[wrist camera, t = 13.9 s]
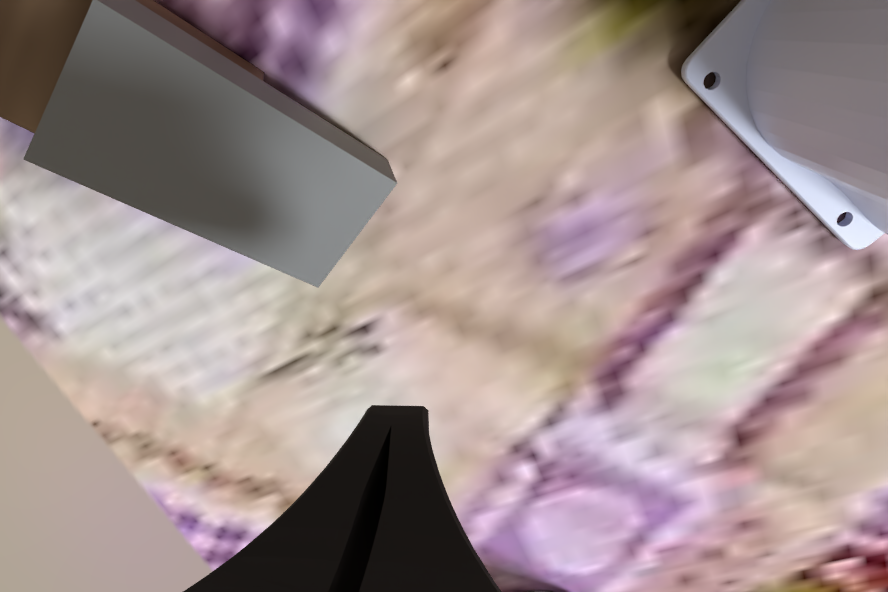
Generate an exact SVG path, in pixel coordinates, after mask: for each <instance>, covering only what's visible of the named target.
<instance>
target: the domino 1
mask: <svg viewBox="0 0 888 592" xmlns="http://www.w3.org/2000/svg"><path fill="white" fill-rule="evenodd" d="M92 1H93V0H0V117H2V118H4V119H6V120H8V121H10V122H12V123H14V124H16V125H18V126H20V127H23V128H25V129H27V130H29V131H31V132H33V133H35V132H36V129H37V127H38V125H39V123H40V120H41V118H42V116H43V113H44V111H45V109H46V106H47V104H48V102H49V100H50V97H51V95H52V93H53V90H54V88H55V86H56V83H57V81H58V79H59V77H60V74H61V72H62V70H63V67H64V65H65V63H66V60H67V58H68V56H69V54H70V51H71V49H72V47H73V44H74V42H75V40H76V38H77V35H78V33H79V31H80V28H81V26H82V24H83V21H84V19H85V17H86V15H87V12H88V10H89V8H90V5H91V3H92ZM136 1H137V2H139V3H140V4H142V5H143V6H145V7H147V8H148V9H150V10H151V11H153V12H155V13H156V14H158V15H159V16H161V17H162V18H164V19H166V20H167V21H169V22H170V23H172V24H174V25H175V26H177V27H178V28H180V29H181V30H183V31H185V32H186V33H188V34H189V35H191V36H193V37H194V38H196V39H197V40H199V41H200V42H202V43H204V44H205V45H207V46H208V47H210V48H212V49H213V50H215V51H216V52H218V53H219V54H221V55H223V56H224V57H226V58H227V59H229V60H231V61H232V62H234V63H235V64H237V65H238V66H240V67H242V68H243V69H245V70H246V71H248V72H250V73H251V74H253V75H254V76H256V77H257V78H259V79H261V80H262V81H263V78H264V72H263V71H261V70H260V69H258V68H257V67H255V66H253V65H252V64H250V63H249V62H247V61H246V60H244V59H243V58H241V57H240V56H238V55H236V54H235V53H233V52H232V51H230V50H229V49H227V48H226V47H224V46H223V45H221V44H220V43H218V42H216V41H215V40H213V39H212V38H210V37H209V36H207V35H206V34H204V33H203V32H201V31H199V30H198V29H196V28H195V27H193V26H192V25H190V24H189V23H187V22H186V21H184V20H183V19H181V18H179V17H178V16H176V15H175V14H173V13H172V12H170V11H169V10H167V9H166V8H164V7H162V6H161V5H159V4H158V3H156V2H155V1H153V0H136Z"/></svg>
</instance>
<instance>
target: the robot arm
mask: <svg viewBox="0 0 888 592" xmlns="http://www.w3.org/2000/svg"><path fill="white" fill-rule="evenodd" d="M710 72H713V73H714V74H715V76H716V80H715V83H714V84H713V86H711V87H710V88H705V87H704V85H703V82H704V78H705V77H706V75H707V74H709V73H710ZM681 74H682V78H683V80H684V82H685V83H686V84H687V85H688V86H689V87H690V88H691V89H692V90H693V91H694V92H695V93H696V94H697V95H698V96H699V97H700V98H701V99H702V100H703V101H704V102H705V103H706V104H707V105H708V106H709V107H710V108H711V109H712V110H713V111H714V112H715V114H716V115H717V116H718V117H719V118H720V119H721V120H722V121H723V122H724V123H725V124H726V125H727V126H728V127H729V128H730V129H731V130H732V131H733V132H734V133H735V134H736V135H737V136H738V137H739V138H740V139H741V140H742V141H743V142H744V143H745V144H746V145H747V146H748V147H749V148H750V149H751V150H752V151H753V152H754V153H755V154H756V155H757V156H758V157H759V158H760V159H761V161H762V162H763V163H764V164H765V165H766V166H767V167H768V168H769V169H770V170H771V171H772V172H773V173H774V174H775V175H776V176H777V177H778V178H779V179H780V180H781V181H782V182H783V183H784V184H785V185H786V186H787V187H788V188H789V189H790V190H791V191H792V192H793V193H794V194H795V195H796V196H797V197H798V198H799V199H800V200H801V201H802V202H803V203H804V204H805V205H806V206H807V207H808V209H809V210H810V211H811V212H812V213H813V214H814V215H815V216H816V217H817V218H818V219H819V220H820V221H821V222H822V223H823V224H824V225H825V226H826V227H827V228H828V229H829V230H830V231H831V232H832V233H833V234H834V235H835V236H836V237H837V238H838V239H839V240H840V241H841V242H842V243H843V244H844V245H846V246H848V247H849V248H851V249H854V250H859V249H863V248H865V247H867V246H869V245H870V244H871V243H873V242H874V241H875V240H876V239H878V238H879V237H880V236H882V235H883V234H884V233H886V234H888V0H741V1H740V2H739V3H738V4H737V6H736V7H735V8H734V9H733V10H732V11H731V12H730V13H729V14H728V15H727V16H726V17H725V18H724V19H723V20H722V21H721V23H720V24H719V25H718V26H717V27H716V28H715V29H714V30H713V31H712V32H711V33H710V34H709V35H708V36H707V37H706V38H705V40H704V41H703V42H702V43H701V44H700V45H699V46H698V47H697V48H696V49H695V50H694V51H693V52H692V53H691V54H690V55H689V57H688V58H687V59H686V60H685V62H684V63H683V66H682V69H681ZM844 212H846V216H845V218H844V219H843V220H842V221H841V222H839V223H837V218H838V217H839V215H840V214H842V213H844ZM184 592H501V590H500V589H499V588H498V586H497V585H496V583H495V582H494V580H493V579H492V577H491V576H490V574H489V572H488V571H487V569H486V568H485V566H484V564H483V563H482V561H481V560H480V558H479V556H478V555H477V553H476V552H475V550H474V548H473V546H472V545H471V543H470V541H469V539H468V537H467V535H466V534H465V532H464V530H463V528H462V526H461V524H460V522H459V520H458V518H457V516H456V513H455V511H454V509H453V507H452V504H451V502H450V500H449V497H448V495H447V492H446V490H445V487H444V485H443V482H442V479H441V476H440V474H439V471H438V467H437V464H436V461H435V457H434V454H433V450H432V446H431V442H430V437H429V420H428V410H427V409H426V408H425V407H424V406H379V405H372V406H371V407H370V408H368V409H367V411H366V413H365V414H364V416H363V417H362V419H361V420H360V422H359V423H358V425H357V426H356V428H355V429H354V431H353V432H352V434H351V435H350V436H349V438H348V439H347V441H346V442H345V443H344V445H343V446H342V447H341V448H340V450H339V451H338V452H337V454H336V455H335V456H334V457H333V459H332V460H331V461H330V463H329V464H328V465H327V466H326V468H325V469H324V470H323V471H322V472H321V473H320V474H319V476H318V477H317V478H316V479H315V480H314V481H313V482H312V484H311V485H310V486H309V487H308V488H307V489H306V490H305V492H304V493H303V494H302V495H301V496H300V497H299V498H298V499H297V500H296V501H295V502H294V503H293V504H292V505H291V506H290V507H289V508H288V509H287V510H286V511H285V512H284V513H283V514H282V515H281V516H280V517H279V518H278V519H277V520H276V521H275V522H273V523H272V524H271V525H270V526H269V527H268V528H267V529H266V530H264V531H263V532H262V533H261V534H260V535H259V536H258V537H256V538H255V539H254V540H253V541H252V542H251V543H249V544H248V545H247V546H246V547H245V548H243V549H242V550H241V551H240V552H238V553H237V554H236V555H235V556H233V557H232V558H231V559H229V560H228V561H226V562H225V563H224V564H222V565H221V566H220V567H218V568H217V569H216V570H214V571H213V572H211V573H210V574H209V575H207V576H206V577H205V578H203V579H202V580H200V581H199V582H197V583H196V584H194V585H193V586H191V587H190V588H188V589H187V590H185V591H184Z"/></svg>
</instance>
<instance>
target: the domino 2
mask: <svg viewBox="0 0 888 592" xmlns="http://www.w3.org/2000/svg"><path fill="white" fill-rule="evenodd" d="M24 160H26V161H28V162H31V163H33V164H35V165H38V166H40V167H42V168H45V169H47V170H49V171H51V172H54V173H56V174H58V175H61V176H63V177H65V178H68V179H70V180H72V181H74V182H77V183H79V184H81V185H84V186H86V187H88V188H90V189H93V190H95V191H97V192H100V193H102V194H104V195H107V196H109V197H111V198H113V199H116V200H118V201H120V202H123V203H125V204H127V205H130V206H132V207H134V208H136V209H139V210H141V211H143V212H146V213H148V214H150V215H152V216H155V217H157V218H159V219H162V220H164V221H166V222H169V223H171V224H173V225H175V226H178V227H180V228H182V229H185V230H187V231H189V232H192V233H194V234H196V235H198V236H201V237H203V238H205V239H208V240H210V241H212V242H214V243H217V244H219V245H221V246H224V247H226V248H228V249H231V250H233V251H235V252H237V253H240V254H242V255H244V256H247V257H249V258H251V259H254V260H256V261H258V262H260V263H263V264H265V265H267V266H270V267H272V268H274V269H276V270H279V271H281V272H283V273H286V274H288V275H290V276H293V277H295V278H297V279H299V280H302V281H304V282H306V283H309V284H311V285H313V286H316V287H319V286H320V285H321V283H322V282H323V281H324V279H325V278H326V277H327V275H328V274H329V273H330V271H331V270H332V269H333V267H334V266H335V265H336V263H337V262H338V261H339V260H340V258H341V257H342V256H343V254H344V253H345V252H346V250H347V249H348V248H349V246H350V245H351V244H352V242H353V241H354V240H355V238H356V237H357V236H358V234H359V233H360V232H361V230H362V229H363V228H364V226H365V225H366V224H367V222H368V221H369V220H370V219H371V217H372V216H373V215H374V213H375V212H376V211H377V209H378V208H379V207H380V205H381V204H382V203H383V201H384V200H385V199H386V197H387V196H388V195H389V193H390V192H391V191H392V189H393V188H394V187H395V185H396V184H397V181H396V179H395V177H394V174H393V172H392V169H391V167H390V165H389V162H388V160H387V159H386V158H384V157H383V156H381V155H379V154H378V153H376V152H375V151H373V150H372V149H370V148H368V147H367V146H365V145H364V144H362V143H360V142H359V141H357V140H356V139H354V138H353V137H351V136H349V135H348V134H346V133H345V132H343V131H341V130H340V129H338V128H337V127H335V126H334V125H332V124H330V123H329V122H327V121H326V120H324V119H322V118H321V117H319V116H318V115H316V114H315V113H313V112H311V111H310V110H308V109H307V108H305V107H303V106H302V105H300V104H299V103H297V102H295V101H294V100H292V99H291V98H289V97H288V96H286V95H284V94H283V93H281V92H280V91H278V90H276V89H275V88H273V87H272V86H270V85H269V84H267V83H265V82H264V81H262V80H261V79H259V78H257V77H256V76H254V75H253V74H251V73H250V72H248V71H246V70H245V69H243V68H242V67H240V66H238V65H237V64H235V63H234V62H232V61H231V60H229V59H227V58H226V57H224V56H223V55H221V54H219V53H218V52H216V51H215V50H213V49H212V48H210V47H208V46H207V45H205V44H204V43H202V42H200V41H199V40H197V39H196V38H194V37H193V36H191V35H189V34H188V33H186V32H185V31H183V30H181V29H180V28H178V27H177V26H175V25H174V24H172V23H170V22H169V21H167V20H166V19H164V18H162V17H161V16H159V15H158V14H156V13H155V12H153V11H151V10H150V9H148V8H147V7H145V6H143V5H142V4H140V3H139V2H137V1H136V0H93V1H92V3H91V5H90V8H89V10H88V12H87V15H86V17H85V19H84V21H83V24H82V26H81V28H80V31H79V33H78V35H77V38H76V40H75V42H74V44H73V47H72V49H71V51H70V54H69V56H68V58H67V60H66V63H65V65H64V67H63V70H62V72H61V74H60V77H59V79H58V81H57V83H56V86H55V88H54V90H53V93H52V95H51V97H50V100H49V102H48V104H47V106H46V109H45V111H44V113H43V116H42V118H41V120H40V123H39V125H38V127H37V129H36V132H35V134H34V136H33V139H32V141H31V143H30V146H29V148H28V150H27V152H26V155H25V157H24Z"/></svg>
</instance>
